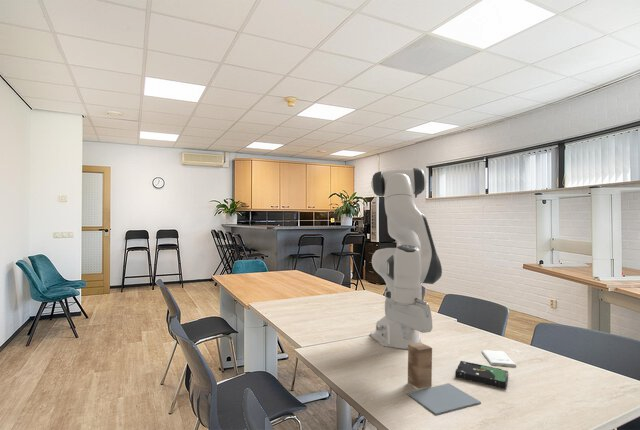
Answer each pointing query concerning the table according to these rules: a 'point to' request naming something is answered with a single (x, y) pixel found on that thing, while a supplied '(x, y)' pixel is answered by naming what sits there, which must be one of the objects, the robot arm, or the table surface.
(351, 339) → the table surface
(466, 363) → the disk drive
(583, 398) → the table surface
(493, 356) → the external hard drive
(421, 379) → the walnut block
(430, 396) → the rubber mat
